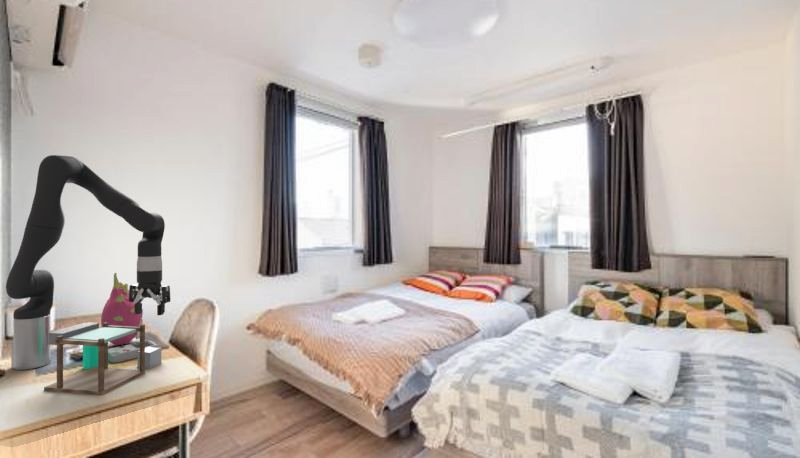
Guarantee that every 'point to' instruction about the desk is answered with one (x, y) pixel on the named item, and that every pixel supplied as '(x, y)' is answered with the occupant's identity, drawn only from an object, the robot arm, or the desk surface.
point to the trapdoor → (90, 333)
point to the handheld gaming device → (127, 351)
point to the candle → (90, 356)
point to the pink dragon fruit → (121, 312)
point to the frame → (96, 377)
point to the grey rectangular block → (150, 357)
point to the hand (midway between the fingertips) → (149, 314)
